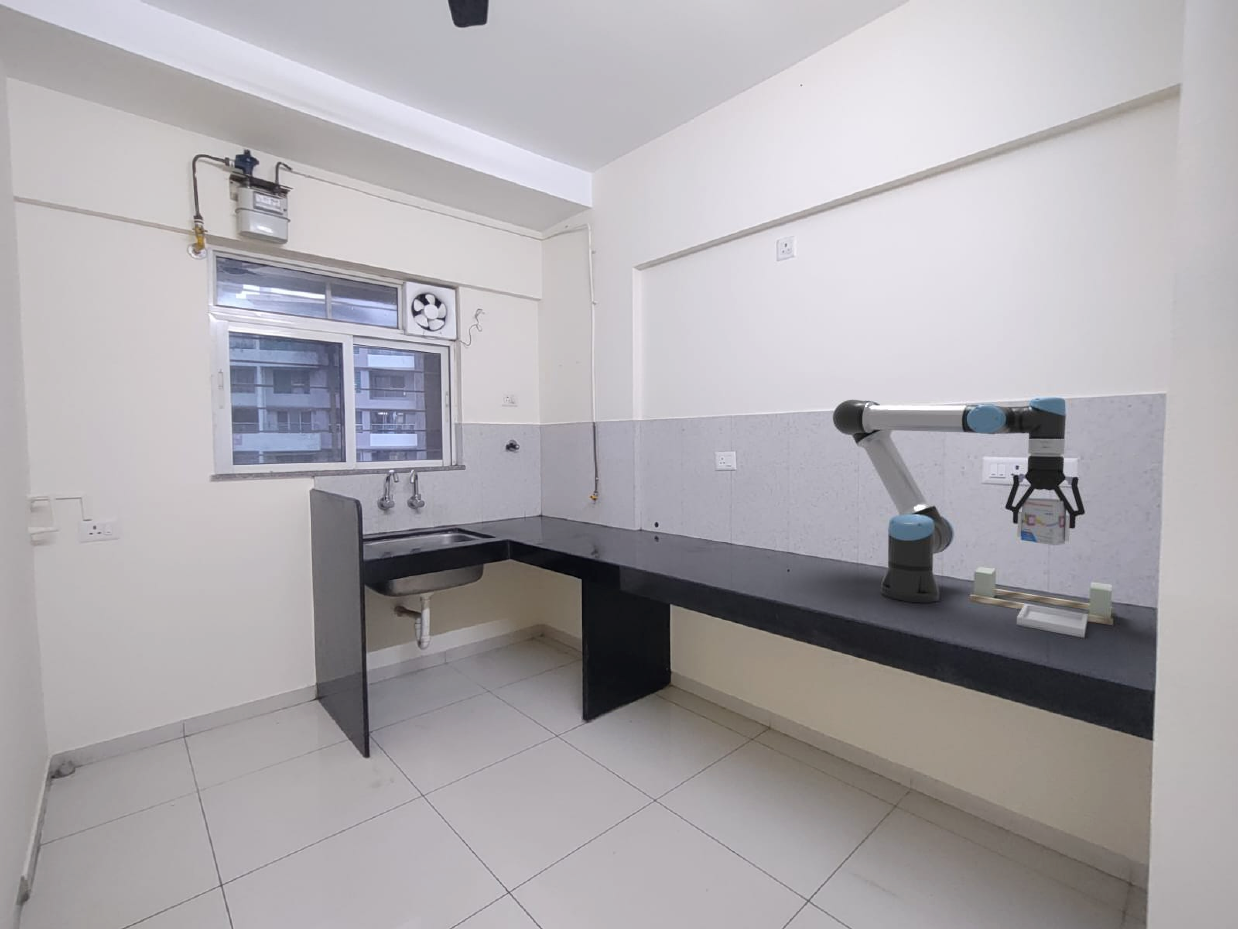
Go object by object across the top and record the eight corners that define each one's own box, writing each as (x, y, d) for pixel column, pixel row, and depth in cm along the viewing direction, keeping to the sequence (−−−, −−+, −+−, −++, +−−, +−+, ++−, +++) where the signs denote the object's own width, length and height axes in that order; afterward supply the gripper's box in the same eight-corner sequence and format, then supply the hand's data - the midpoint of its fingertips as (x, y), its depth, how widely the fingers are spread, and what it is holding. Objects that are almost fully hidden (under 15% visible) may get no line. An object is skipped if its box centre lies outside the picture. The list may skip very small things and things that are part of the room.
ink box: (1019, 540, 146) (1020, 497, 145) (1030, 538, 148) (1032, 496, 147) (1054, 545, 138) (1056, 500, 137) (1066, 544, 140) (1067, 500, 139)
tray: (1016, 624, 131) (1016, 617, 131) (1024, 611, 141) (1024, 603, 141) (1084, 637, 122) (1084, 629, 122) (1087, 622, 133) (1087, 614, 133)
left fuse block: (973, 598, 153) (974, 571, 152) (979, 593, 158) (979, 566, 158) (990, 601, 150) (991, 574, 149) (995, 595, 156) (995, 569, 155)
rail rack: (969, 600, 151) (969, 595, 151) (978, 591, 160) (978, 586, 160) (1112, 625, 130) (1113, 619, 130) (1113, 613, 140) (1113, 607, 140)
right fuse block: (1088, 618, 135) (1090, 588, 135) (1090, 611, 141) (1091, 582, 141) (1110, 622, 132) (1111, 591, 132) (1110, 614, 138) (1111, 584, 138)
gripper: (993, 454, 146) (991, 535, 147) (1101, 456, 131) (1097, 545, 132) (997, 454, 152) (994, 531, 153) (1100, 455, 137) (1097, 541, 138)
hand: (1042, 538), depth 142 cm, fingers closed on ink box, 9 cm apart
